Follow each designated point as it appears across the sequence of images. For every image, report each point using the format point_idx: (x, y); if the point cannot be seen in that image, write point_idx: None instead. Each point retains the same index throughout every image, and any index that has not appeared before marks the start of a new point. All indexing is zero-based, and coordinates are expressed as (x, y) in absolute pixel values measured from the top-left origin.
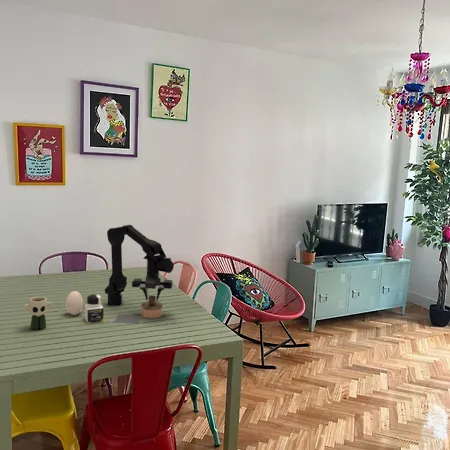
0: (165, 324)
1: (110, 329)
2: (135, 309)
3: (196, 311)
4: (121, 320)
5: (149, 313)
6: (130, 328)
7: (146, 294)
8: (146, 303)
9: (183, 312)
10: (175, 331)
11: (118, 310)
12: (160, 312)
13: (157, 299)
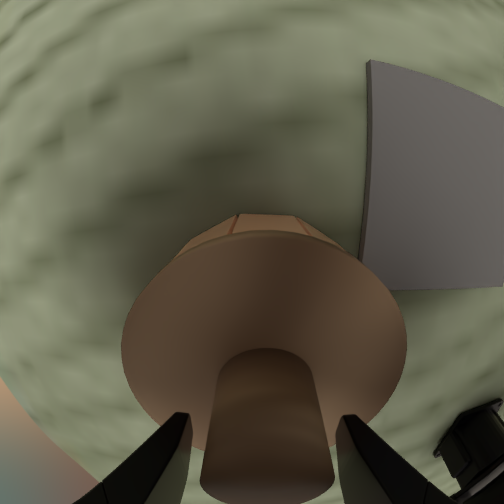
0: (109, 94)
1: (494, 26)
2: (388, 406)
3: (13, 371)
4: (493, 145)
5: (282, 226)
6: (399, 3)
7: (397, 495)
8: (339, 407)
9: (54, 367)
10: (58, 4)
11: (479, 363)
12: None
13: (163, 430)
